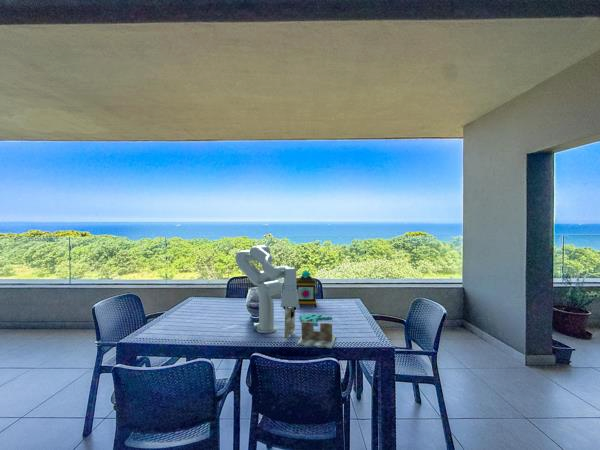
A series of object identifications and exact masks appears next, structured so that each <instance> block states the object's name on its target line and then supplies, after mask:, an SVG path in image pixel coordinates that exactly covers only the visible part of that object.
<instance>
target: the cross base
mask: <svg viewBox="0 0 600 450" xmlns="http://www.w3.org/2000/svg"><path fill="white" fill-rule="evenodd" d="M319 328H320V329H319V330H315V329H314V323H313V322H312V321H311V322H306V321H302V322H301V336H300V338H299V339H298V341H297V343H296V345H297V346H301V345H304V346H303V347H312V346H318V347H317V348H324V347H326V348H327V349H333V347H332V346H334V345H335V341H336V339H337V335H335V334H333V323H332V322H319ZM335 338H336V339H335Z"/></svg>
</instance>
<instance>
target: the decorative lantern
mask: <svg viewBox="0 0 600 450" xmlns="http://www.w3.org/2000/svg"><path fill="white" fill-rule="evenodd" d="M316 285H317V280H316V279H315V278H314V277H312V276H311V274H310V272H309V271H308V270H304V271H303V272H302V273H301V276H300V277H298V278H296V290H297V291H298V299H299V306H300V305H301V306H302V305H303V306H304V305H306V306H308V305H311V306H312V305H313V306H314V308H315V309H316V308H317V299H316V294H318V288H317V287H316Z"/></svg>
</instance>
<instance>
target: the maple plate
mask: <svg viewBox="0 0 600 450" xmlns="http://www.w3.org/2000/svg"><path fill="white" fill-rule="evenodd" d="M291 311H292V307H288V309H287V310H286V311H285V310H284V339H286V340H287V339H289V338H290V335H292V334H293V333H294V332H295V329H296V328H295V327H296V325H295V323H296V322H295V321H296V317H295V316H296V310H295V311H294V317H293V318H291Z"/></svg>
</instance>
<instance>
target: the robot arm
mask: <svg viewBox="0 0 600 450" xmlns="http://www.w3.org/2000/svg"><path fill="white" fill-rule="evenodd" d="M251 262H258V263H259V264H260V265H261V267H262V270H259V269H258V268H257V267H256V265H254V264H252V263H251ZM272 262H273V256H272V255H271V249H270V247H269V246H268V245H264V244H263V245H254V246H251V248H250V249H243V250H239V251H238V252H236V253H235V263H236V265H237V267H238V268H239V270H240V271H242V272H243V273H244V275H245V276H246V278H248V279H249V280H250V283H252V284H253V285H254V286H257V288H256V289H257V291H256V292H257V296H258V312H259V313H258V322H253V327H255V328H256V332H257V333H261V334H271V333H274V332H276V331H277V327H276V326H275V325H274V324H275V323H274V322H275V320H274V319H275V318H274V316H275V314H274V313H275V309H274V304H275V303H274V300H273V298H272V296H276V295H279V294H280V293H281V299H280V300H281V301H280V307H281V308H282V309H284V312H285V311H286V310H287V309H288V308H289V307H292V311H291V318H293V317H294V311H295V312H296V310H297V309H300V308H301V307H300V305H299V299H298V291H297V285H296V280H297V268H296V267H293V266H288V265H277V266H274V265H272ZM279 279H283V285H282V283H281V281H280V280H279Z"/></svg>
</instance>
